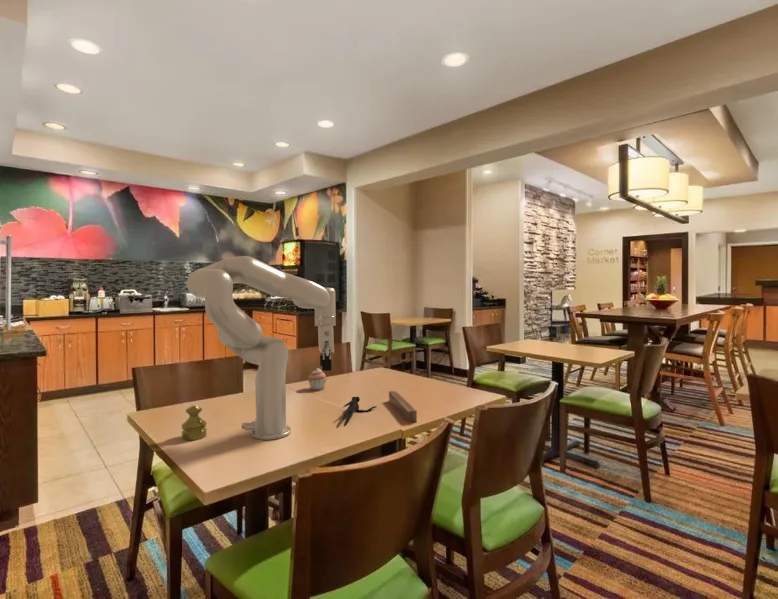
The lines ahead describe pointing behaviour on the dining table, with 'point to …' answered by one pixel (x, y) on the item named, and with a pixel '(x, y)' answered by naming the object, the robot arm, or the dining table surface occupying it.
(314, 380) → the cupcake
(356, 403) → the dark humanoid figurine
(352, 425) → the dining table surface
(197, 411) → the olive green tapered piece
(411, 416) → the rail
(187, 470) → the dining table surface
